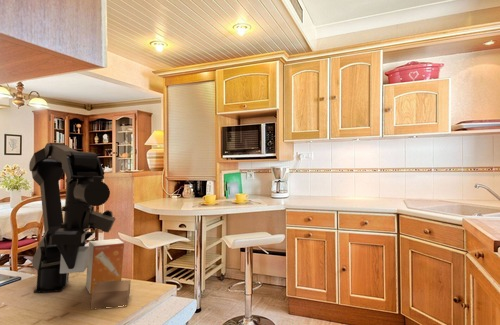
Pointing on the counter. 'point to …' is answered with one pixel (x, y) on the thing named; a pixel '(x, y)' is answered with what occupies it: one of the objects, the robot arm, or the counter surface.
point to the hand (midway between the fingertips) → (74, 265)
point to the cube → (77, 261)
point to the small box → (104, 262)
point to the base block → (110, 294)
